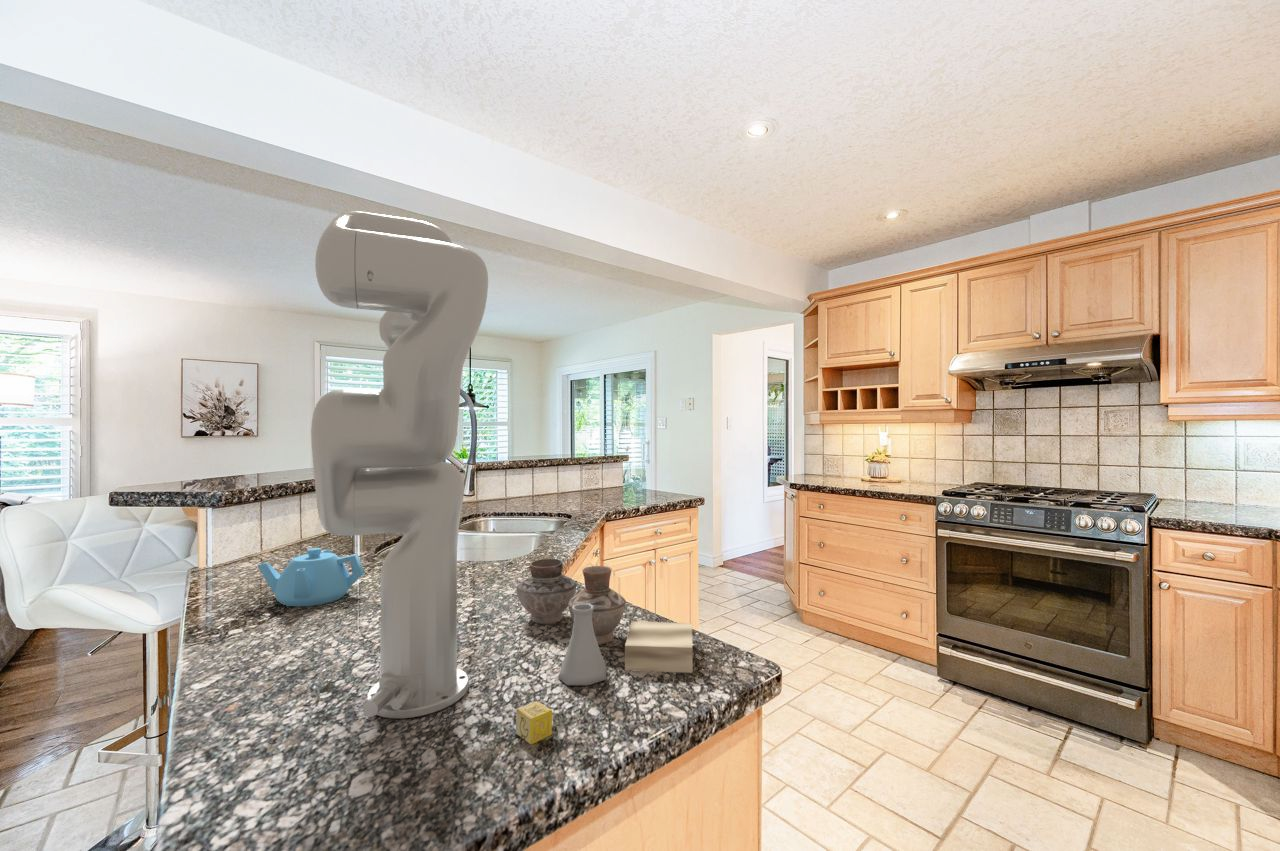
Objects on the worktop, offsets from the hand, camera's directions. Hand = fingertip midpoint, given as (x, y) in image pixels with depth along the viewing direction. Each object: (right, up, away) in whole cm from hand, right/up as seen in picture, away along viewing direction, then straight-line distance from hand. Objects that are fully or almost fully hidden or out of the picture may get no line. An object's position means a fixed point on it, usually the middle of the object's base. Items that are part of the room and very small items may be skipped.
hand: (414, 475), depth 98 cm
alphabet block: (+30, -27, -37) cm, 55 cm away
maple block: (+46, -27, -16) cm, 56 cm away
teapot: (-28, -28, +14) cm, 42 cm away
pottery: (+30, -28, -3) cm, 41 cm away
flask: (+34, -27, -22) cm, 49 cm away
